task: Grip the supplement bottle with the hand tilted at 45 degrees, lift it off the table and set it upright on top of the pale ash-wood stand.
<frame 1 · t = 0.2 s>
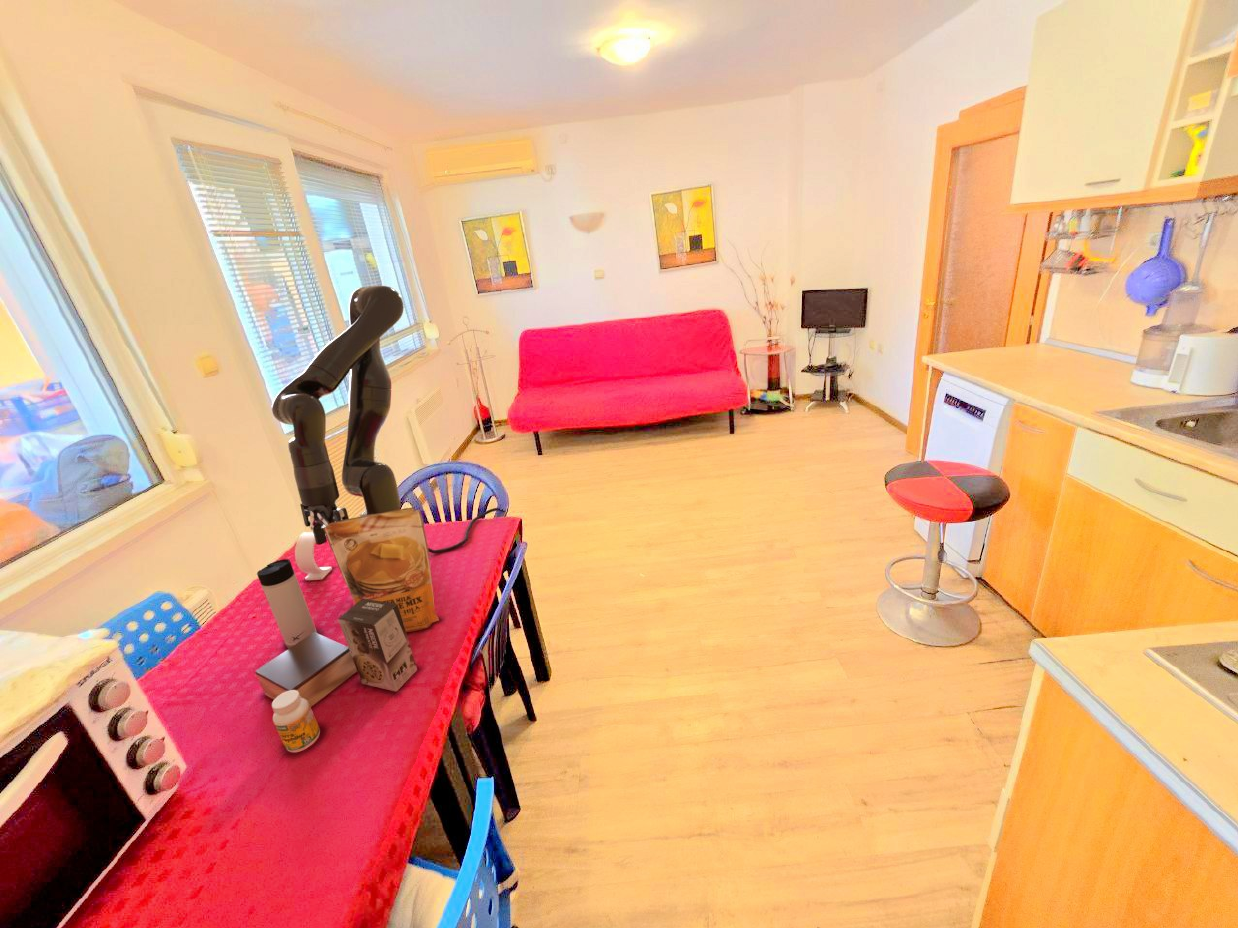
hand: (332, 546, 117), 17 cm above the table, tool pointing down, fingers open, 8 cm apart
travel mug: (303, 640, 114), on the table
coffee box: (389, 677, 101), on the table
headphone stand: (318, 576, 139), on the table
supplement bottle: (303, 740, 88), on the table
stand: (312, 682, 101), on the table
pancake mix bag: (402, 626, 116), on the table
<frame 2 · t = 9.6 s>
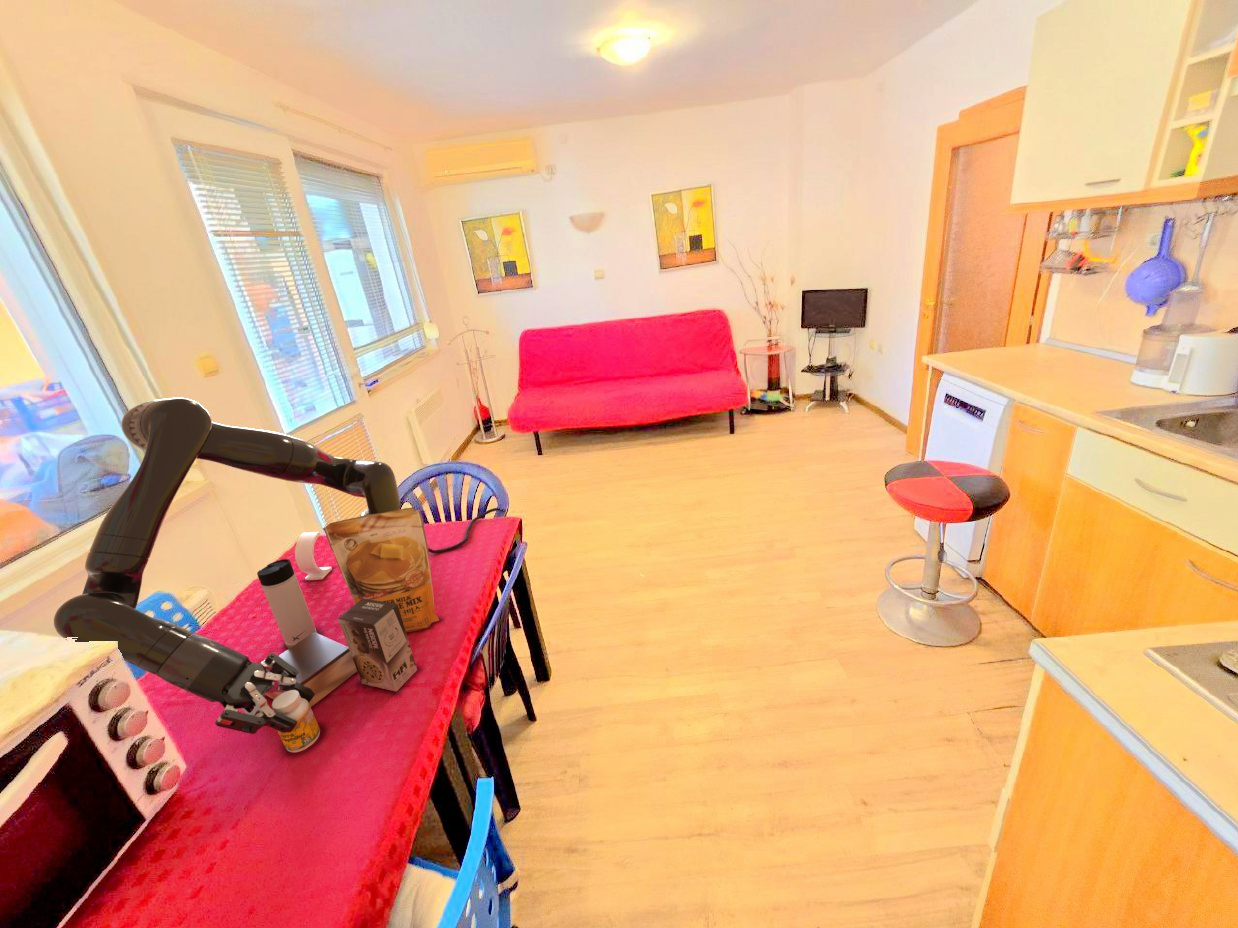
hand: (302, 712, 86), 6 cm above the table, tool tilted 45°, fingers closed on supplement bottle, 5 cm apart
supplement bottle: (303, 740, 88), on the table, touching gripper
everything else where it was.
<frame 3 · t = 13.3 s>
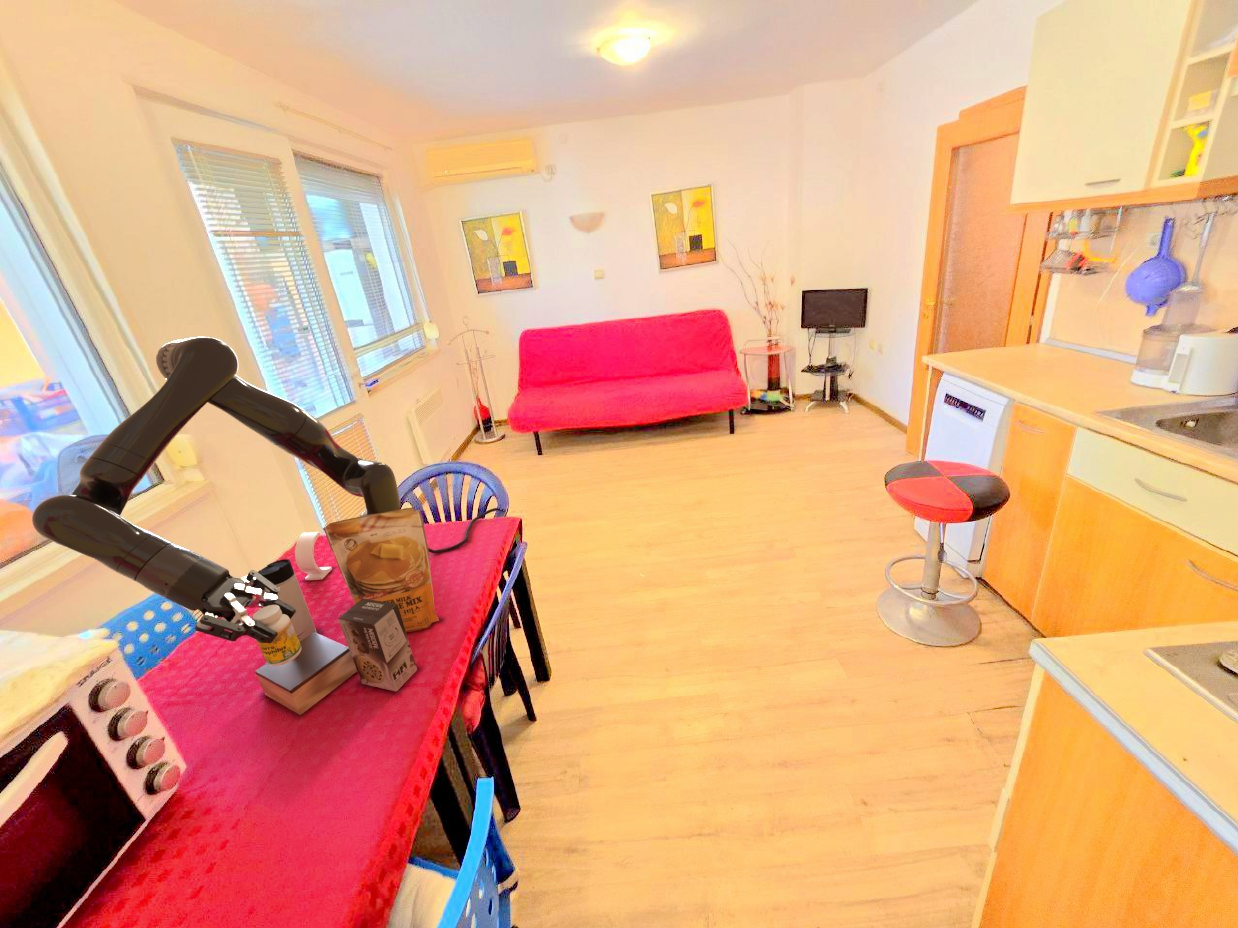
hand: (283, 626, 87), 20 cm above the table, tool tilted 45°, fingers closed on supplement bottle, 5 cm apart
supplement bottle: (285, 656, 89), point 13 cm above the table, touching gripper
everything else where it was.
when the fingers open (12 cm above the table, at t = 17.2 s): supplement bottle stays where it is, resting on stand.
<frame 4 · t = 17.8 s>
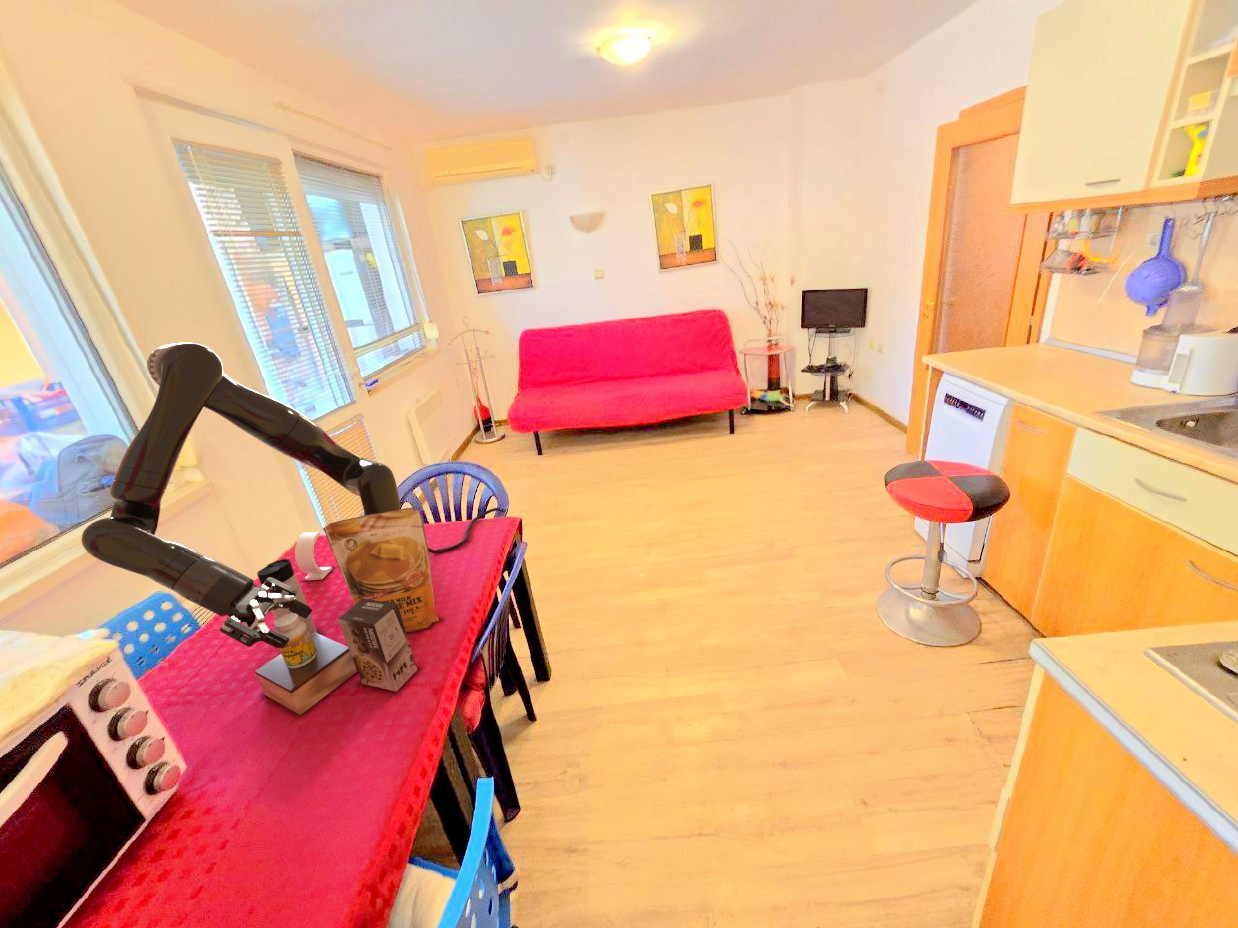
hand: (298, 628, 96), 13 cm above the table, tool tilted 45°, fingers open, 8 cm apart
supplement bottle: (302, 659, 99), point 6 cm above the table, touching stand
everything else where it was.
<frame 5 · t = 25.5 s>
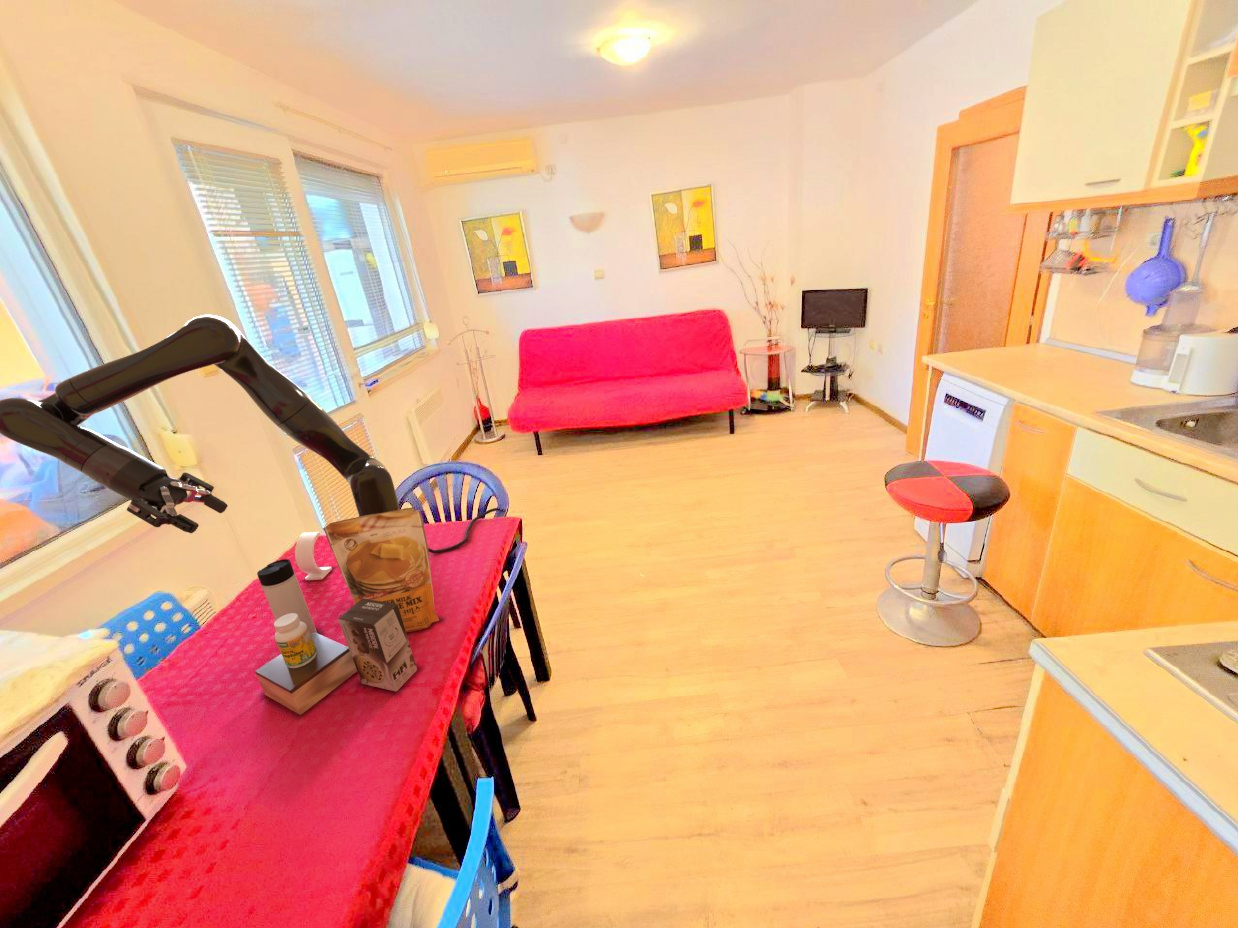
hand: (211, 519, 100), 33 cm above the table, tool tilted 45°, fingers open, 8 cm apart
nothing on the table moved.
at the end: supplement bottle inside the target area on the stand (0.2 cm from its centre), point 5.8 cm above the stand's base; supplement bottle tilted 0°; the gripper is holding nothing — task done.
